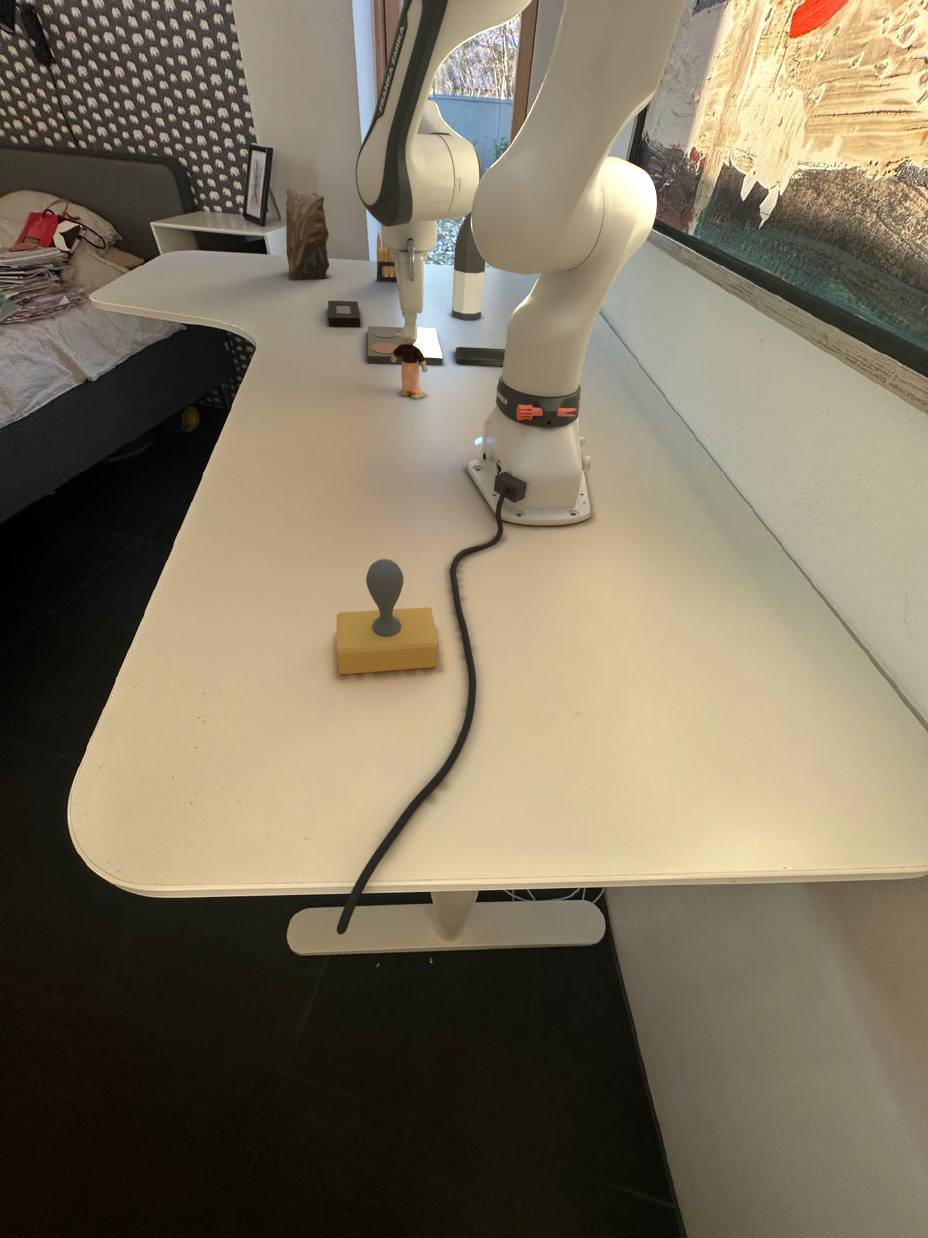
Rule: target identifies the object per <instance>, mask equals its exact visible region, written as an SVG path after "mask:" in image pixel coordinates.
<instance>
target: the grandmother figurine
mask: <svg viewBox="0 0 928 1238" xmlns="http://www.w3.org/2000/svg"><path fill="white" fill-rule="evenodd" d="M418 328H419V327H418V326H417V324H416V325H415V335H413V336H411V335H406V334H405V325H403V327H402V330H401V334H400V337H401V338H403V339H404V342H405V343H406V344H401V345H399V346H398V347H397V348H396V349H395V350H394V351H393V355H392V358H391V361H392V362H393V363H395V362H396V359H397V358H398V357H402V364H401V369H400V370H401V371H400V375H401V377H400V378H401V389H402V391H401V392H400V395H401V396H402V397H408V396H410V398H412V399H416V400H417V399H420V398H423V397H425V394H424V392H423V391H422V390H421V387H420V386H421V383H420V382H421V381H420V367H421V371H422V372H423V373H427V371H428V367H427V365H426V362H425V358H424V356H423V354H422V352H421V350H420V349H419V348H418V347H416V346H415V345H413V344H415V343H416V341H417V335H418V334H417V333H418ZM418 360H419V362H420V365H418Z"/></svg>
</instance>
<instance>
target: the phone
mask: <svg viewBox="0 0 928 1238" xmlns="http://www.w3.org/2000/svg"><path fill="white" fill-rule="evenodd" d="M454 353H455V359H456V363H457V364H458V365H468V366H469V365H472V366H490V367H491V366H493V367H503V364H504V355H505V348H489V347H468V346H457V347H455V352H454Z"/></svg>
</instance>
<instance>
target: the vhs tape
mask: <svg viewBox="0 0 928 1238" xmlns="http://www.w3.org/2000/svg"><path fill="white" fill-rule="evenodd" d="M327 312H328V313H327V314H328V315H327V318H328V327H352V328H353V327H357V328H359V327H360V328H361V315H360V309H359V302H358V301H355V300H352V301H351V300H327Z"/></svg>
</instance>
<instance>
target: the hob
mask: <svg viewBox="0 0 928 1238" xmlns="http://www.w3.org/2000/svg"><path fill="white" fill-rule="evenodd" d="M402 328H403V327H402V326H401V327H400V326H399V327H398V326H395V327H394V326H373V325H372V326H371V325H368V326H367V363H368V364H385V365H402V357H398V358H397V359H396V362H395V363H393V362H392V361H391V358H392V355H393V351H394V350H395V349H396V348H397V347H398V346H399V345H401V344H406V343H405V342H404V339H403V338H401V337H400V334H401V330H402ZM417 334H418V335H417V341H416V343H415V344H413V345H415V346H416V347H418V348H419V349H420V350H421V352H422V354H423V356H424V358H425V362H426V366H443V362H444V361H443V360H444V357H443V354H442V350H441V347H440V343H439V340H438V335H437V332H436V329H435V328H430V327H429V328H427V327H418V333H417ZM418 365H419V366H421V365H420V362H419V360H418Z"/></svg>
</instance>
